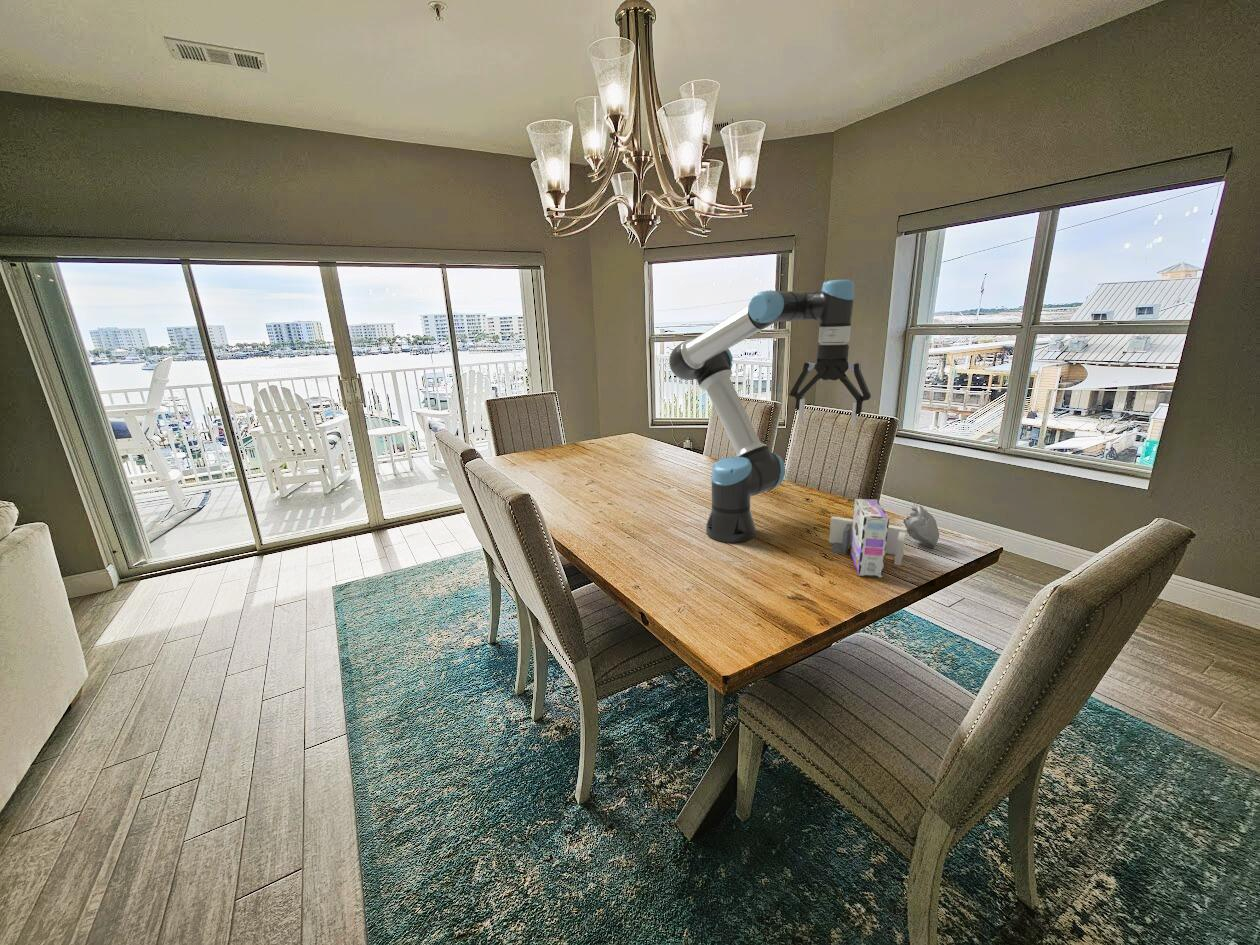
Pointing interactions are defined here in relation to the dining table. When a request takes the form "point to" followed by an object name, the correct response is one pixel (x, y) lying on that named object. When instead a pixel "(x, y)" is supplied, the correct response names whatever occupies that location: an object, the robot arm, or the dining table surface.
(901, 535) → the shelf
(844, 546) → the bookend
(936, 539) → the heart
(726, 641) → the dining table surface
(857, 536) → the candy box
